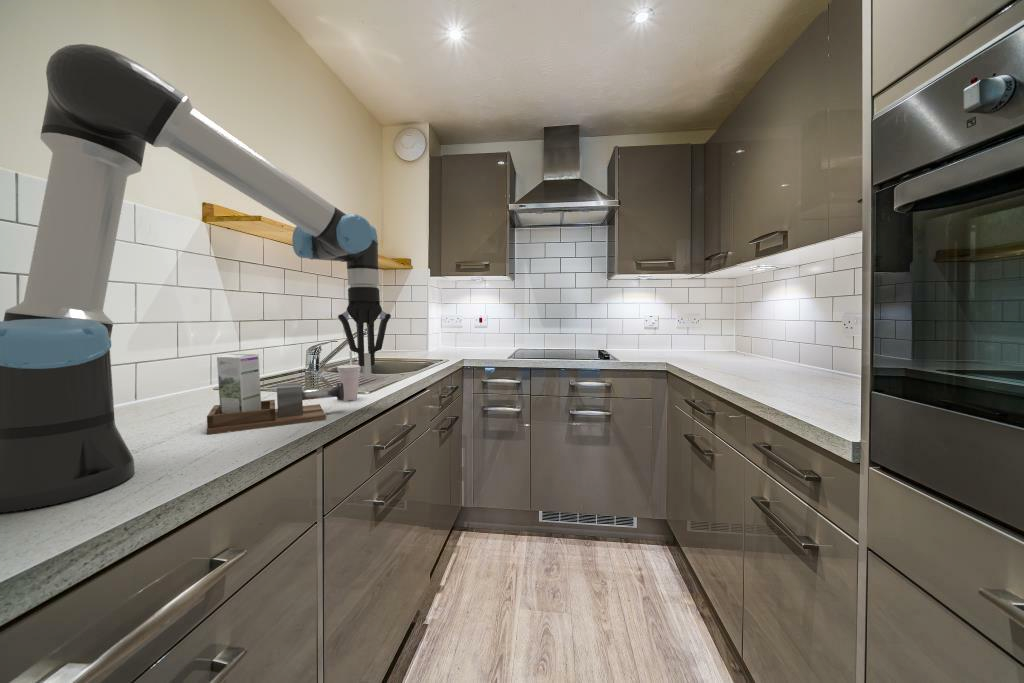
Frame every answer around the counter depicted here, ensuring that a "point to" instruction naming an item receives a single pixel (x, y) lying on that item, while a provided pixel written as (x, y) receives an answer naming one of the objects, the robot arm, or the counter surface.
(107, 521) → the counter surface
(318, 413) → the jig
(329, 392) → the shaft
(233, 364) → the syrup box
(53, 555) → the counter surface
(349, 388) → the smoothie
